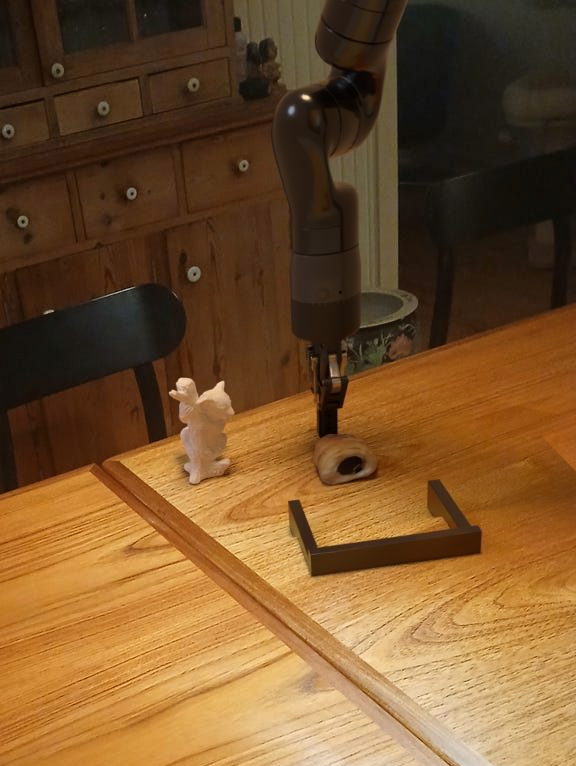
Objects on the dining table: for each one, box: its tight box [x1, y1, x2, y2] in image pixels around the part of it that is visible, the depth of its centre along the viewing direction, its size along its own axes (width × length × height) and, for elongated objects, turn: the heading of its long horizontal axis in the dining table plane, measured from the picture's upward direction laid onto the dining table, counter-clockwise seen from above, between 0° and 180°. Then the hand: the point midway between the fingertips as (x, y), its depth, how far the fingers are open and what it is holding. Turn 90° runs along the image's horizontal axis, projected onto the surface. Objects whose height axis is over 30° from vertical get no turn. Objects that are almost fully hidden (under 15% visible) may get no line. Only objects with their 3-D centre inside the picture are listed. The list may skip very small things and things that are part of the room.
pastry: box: [312, 433, 379, 486], centre depth 112 cm, size 9×7×4 cm
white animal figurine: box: [168, 377, 235, 485], centre depth 114 cm, size 8×7×12 cm
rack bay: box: [287, 478, 483, 577], centre depth 96 cm, size 15×13×4 cm
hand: (327, 435), depth 117 cm, fingers closed
